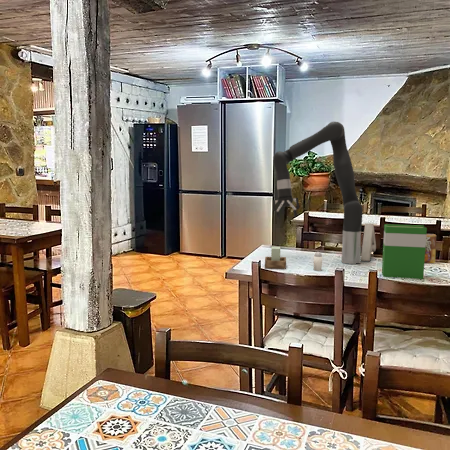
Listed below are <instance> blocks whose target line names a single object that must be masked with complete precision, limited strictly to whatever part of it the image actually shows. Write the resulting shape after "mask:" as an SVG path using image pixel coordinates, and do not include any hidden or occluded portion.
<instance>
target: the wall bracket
mask: <svg viewBox="0 0 450 450" xmlns="http://www.w3.org/2000/svg"><path fill="white" fill-rule="evenodd" d="M376 243H377V242H376V233H375V226H374V223H364V230H363V240H362V246H361V259H360V262H365V261H368V262H367V263H369V262H370V261H371V260H370V259H371V256H372V253H374V252H375V253H376V249H377V244H376Z"/></svg>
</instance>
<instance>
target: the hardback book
mask: <svg viewBox="0 0 450 450" xmlns="http://www.w3.org/2000/svg"><path fill="white" fill-rule="evenodd" d="M383 229H384V230H383V245H382V258H381V259H382V261H381V274H382V277H384V278H398V279H399V278H400V279H415V280H418V279H419V280H424V274H425V273H424V272H425V263H424V262H425V248H426V234H428V233H427V231H428V228H427V227H425V225H414V224H413V225H412V224H388V223H387V224H384V226H383Z"/></svg>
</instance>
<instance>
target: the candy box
mask: <svg viewBox="0 0 450 450" xmlns="http://www.w3.org/2000/svg"><path fill="white" fill-rule="evenodd" d="M436 247H437V235H436V234H434V233H427V234H426V248H425V262H424V264H435V263H436V249H437V248H436Z"/></svg>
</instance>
